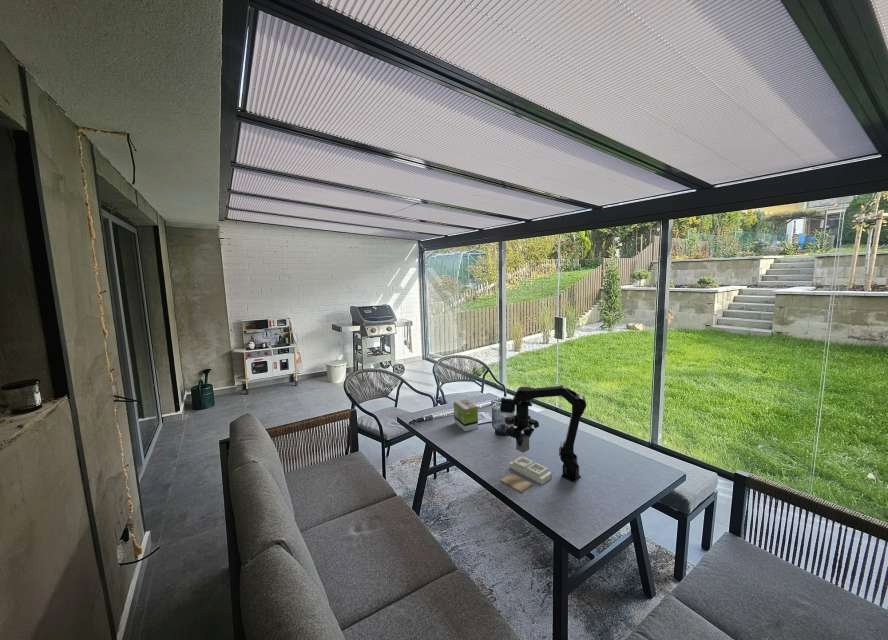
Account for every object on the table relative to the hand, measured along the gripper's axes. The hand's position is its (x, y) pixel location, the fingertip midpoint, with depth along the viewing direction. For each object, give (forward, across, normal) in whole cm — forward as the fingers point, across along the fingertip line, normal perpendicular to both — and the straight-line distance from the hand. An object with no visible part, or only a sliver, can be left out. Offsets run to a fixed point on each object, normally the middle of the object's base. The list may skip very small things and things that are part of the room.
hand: (522, 444), depth 165 cm
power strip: (+13, -1, +4) cm, 14 cm away
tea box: (+13, -14, -56) cm, 60 cm away
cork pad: (+13, +11, +5) cm, 18 cm away
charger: (+2, 0, 0) cm, 2 cm away
